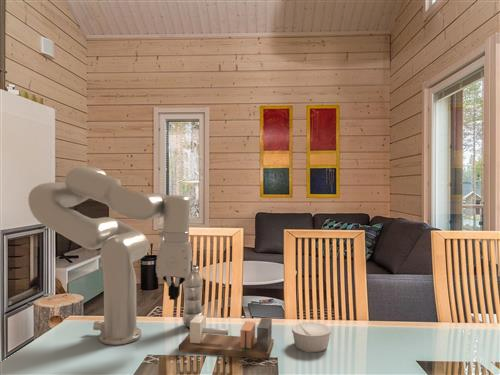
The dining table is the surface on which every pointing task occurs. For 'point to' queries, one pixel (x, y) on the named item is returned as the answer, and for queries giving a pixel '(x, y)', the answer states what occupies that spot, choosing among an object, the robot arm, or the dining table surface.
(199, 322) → the plunger
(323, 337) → the ramekin
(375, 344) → the dining table surface
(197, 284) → the plastic bottle
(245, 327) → the block
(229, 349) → the base
